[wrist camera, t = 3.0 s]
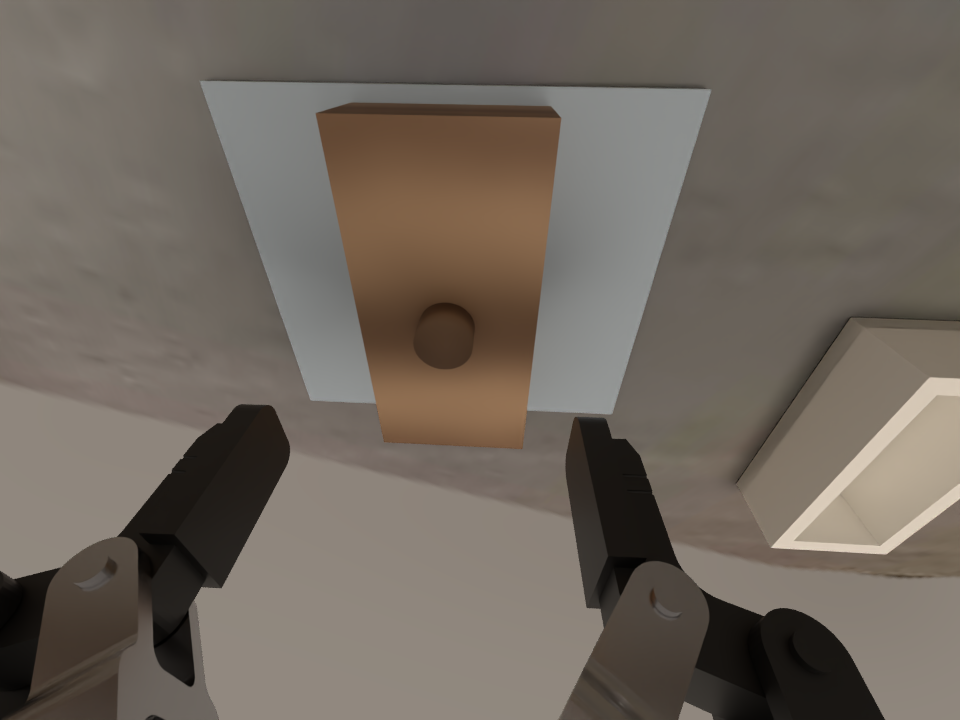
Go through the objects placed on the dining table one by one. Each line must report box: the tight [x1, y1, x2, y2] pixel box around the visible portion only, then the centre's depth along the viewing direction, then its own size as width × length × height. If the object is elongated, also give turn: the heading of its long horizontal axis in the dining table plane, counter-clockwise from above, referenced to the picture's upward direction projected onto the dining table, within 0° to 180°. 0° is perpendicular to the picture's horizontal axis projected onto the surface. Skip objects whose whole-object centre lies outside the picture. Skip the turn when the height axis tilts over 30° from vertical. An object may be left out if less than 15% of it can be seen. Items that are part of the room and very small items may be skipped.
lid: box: [315, 102, 561, 449], centre depth 15 cm, size 13×6×4 cm, turn 179°
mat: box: [200, 80, 712, 414], centre depth 17 cm, size 14×16×1 cm
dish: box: [736, 317, 960, 554], centre depth 19 cm, size 12×6×4 cm, turn 179°
